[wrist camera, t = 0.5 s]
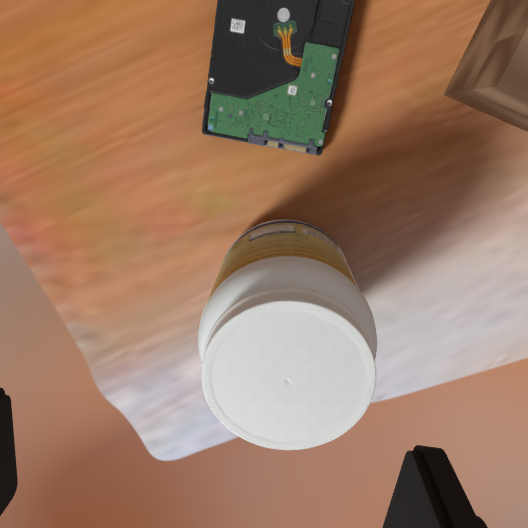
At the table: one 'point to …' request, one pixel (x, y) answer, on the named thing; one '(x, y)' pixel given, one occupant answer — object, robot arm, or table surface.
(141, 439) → the table surface
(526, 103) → the upper socket tower
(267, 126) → the disk drive
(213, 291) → the supplement tub
